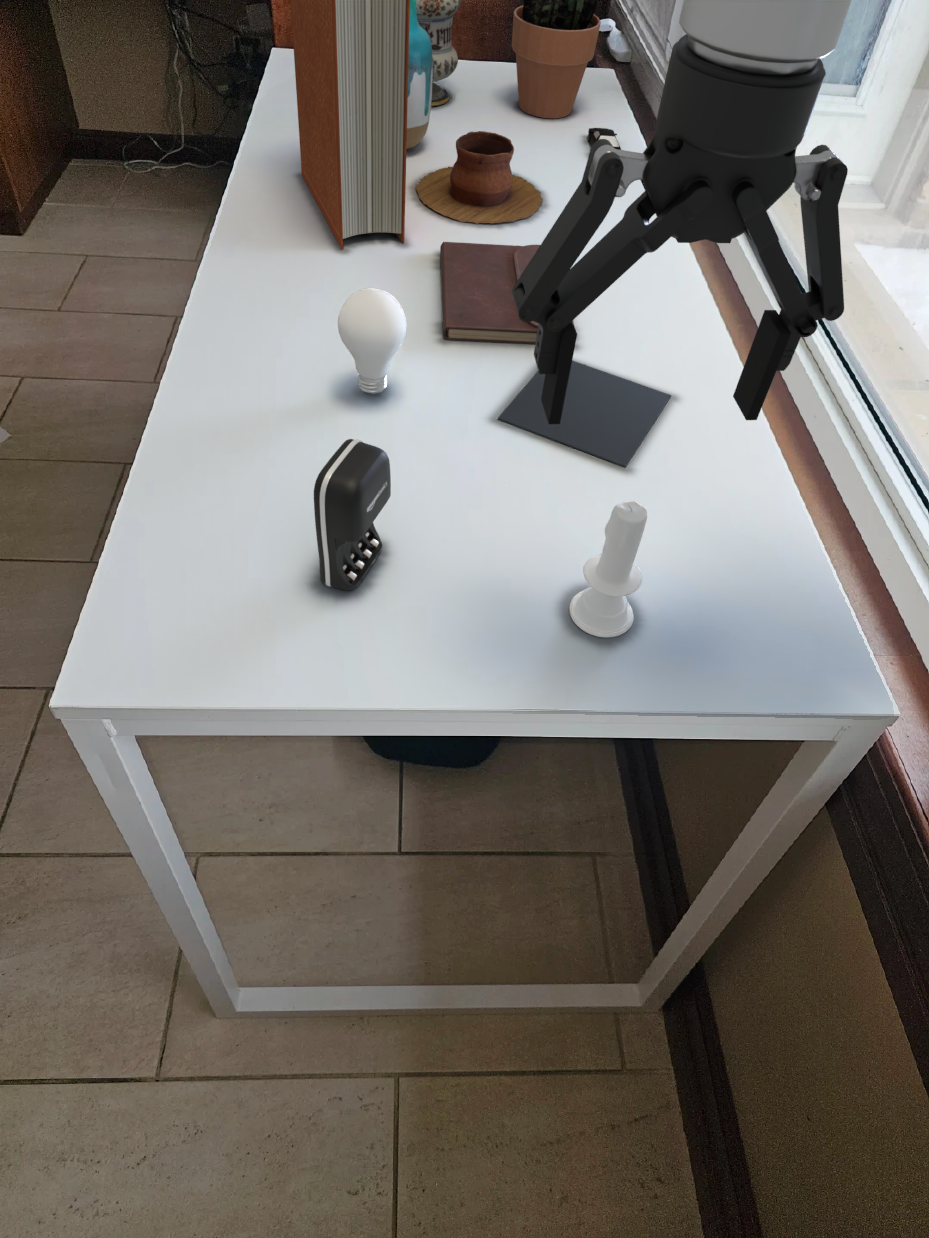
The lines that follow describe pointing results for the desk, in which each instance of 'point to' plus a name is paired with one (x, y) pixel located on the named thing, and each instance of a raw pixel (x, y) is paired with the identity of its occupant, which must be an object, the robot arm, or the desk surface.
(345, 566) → the battery charger
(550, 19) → the potted plant
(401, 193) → the book
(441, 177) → the ceramic pot
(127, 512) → the desk surface
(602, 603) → the candle
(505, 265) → the notebook
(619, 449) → the mat
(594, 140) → the toy car
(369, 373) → the light bulb
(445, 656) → the desk surface
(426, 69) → the vase
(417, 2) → the apothecary jar
